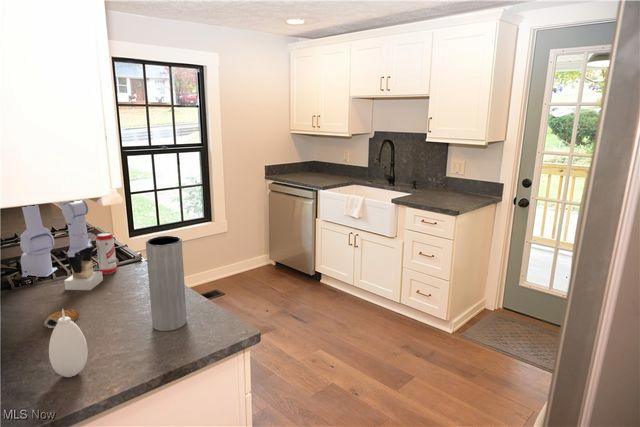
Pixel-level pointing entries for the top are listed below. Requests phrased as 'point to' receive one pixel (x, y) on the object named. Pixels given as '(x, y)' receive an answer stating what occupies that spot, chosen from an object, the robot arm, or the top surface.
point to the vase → (166, 282)
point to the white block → (84, 282)
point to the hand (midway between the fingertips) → (82, 268)
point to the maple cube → (84, 271)
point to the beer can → (106, 253)
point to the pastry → (53, 318)
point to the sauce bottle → (67, 348)
